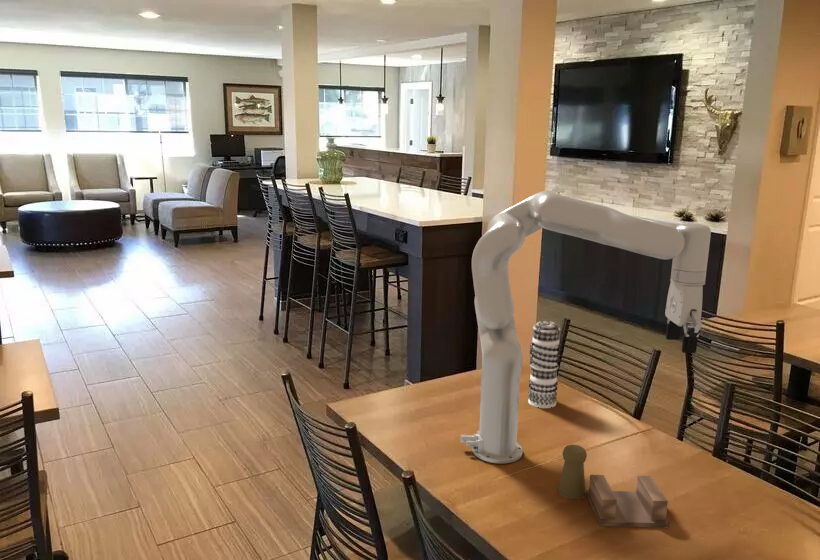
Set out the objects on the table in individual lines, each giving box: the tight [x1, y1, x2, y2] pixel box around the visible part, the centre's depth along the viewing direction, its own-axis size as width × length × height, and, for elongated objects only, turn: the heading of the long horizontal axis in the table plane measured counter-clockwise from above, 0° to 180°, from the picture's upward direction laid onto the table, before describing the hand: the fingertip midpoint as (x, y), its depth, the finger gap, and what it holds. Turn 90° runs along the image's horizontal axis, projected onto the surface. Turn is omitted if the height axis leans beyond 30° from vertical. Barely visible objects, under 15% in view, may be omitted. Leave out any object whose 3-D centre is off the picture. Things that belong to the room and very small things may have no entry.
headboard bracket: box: [585, 474, 670, 528], centre depth 139 cm, size 14×12×6 cm
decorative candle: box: [527, 320, 563, 409], centre depth 193 cm, size 9×9×25 cm
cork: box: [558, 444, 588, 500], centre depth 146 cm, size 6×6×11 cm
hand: (680, 345), depth 156 cm, fingers open, 9 cm apart
